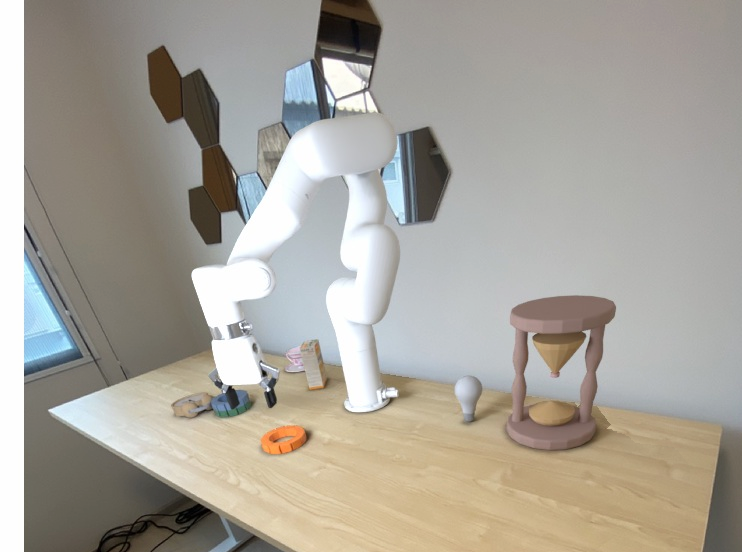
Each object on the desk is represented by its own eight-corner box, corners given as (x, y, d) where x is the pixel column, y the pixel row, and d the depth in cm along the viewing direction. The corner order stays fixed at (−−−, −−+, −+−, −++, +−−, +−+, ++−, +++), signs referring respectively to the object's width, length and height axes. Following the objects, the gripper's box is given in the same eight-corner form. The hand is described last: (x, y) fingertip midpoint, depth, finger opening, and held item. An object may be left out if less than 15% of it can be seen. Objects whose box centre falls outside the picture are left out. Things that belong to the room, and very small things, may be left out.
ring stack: (257, 401, 126) (253, 388, 124) (240, 416, 118) (236, 403, 115) (227, 402, 129) (222, 390, 126) (209, 418, 120) (203, 405, 118)
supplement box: (324, 388, 127) (314, 346, 119) (309, 390, 127) (298, 348, 120) (327, 378, 133) (318, 338, 126) (313, 380, 134) (303, 340, 127)
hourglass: (600, 415, 89) (621, 293, 75) (588, 456, 77) (610, 320, 63) (518, 408, 98) (523, 296, 84) (496, 444, 86) (498, 321, 72)
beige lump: (198, 391, 132) (217, 390, 122) (205, 405, 135) (224, 406, 124) (164, 404, 126) (182, 405, 116) (172, 419, 128) (190, 421, 118)
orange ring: (312, 431, 103) (310, 424, 102) (296, 453, 95) (294, 446, 93) (274, 432, 106) (272, 425, 104) (256, 454, 97) (253, 447, 96)
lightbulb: (485, 416, 97) (485, 371, 90) (478, 428, 92) (478, 382, 86) (460, 414, 99) (458, 371, 93) (452, 426, 95) (450, 381, 89)
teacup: (322, 359, 151) (318, 343, 148) (311, 371, 142) (307, 354, 138) (292, 362, 154) (288, 345, 150) (280, 374, 144) (275, 356, 141)
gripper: (274, 323, 87) (294, 398, 96) (204, 329, 91) (229, 401, 100) (258, 333, 81) (281, 412, 90) (184, 339, 85) (213, 414, 94)
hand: (254, 406), depth 95 cm, fingers open, 9 cm apart
